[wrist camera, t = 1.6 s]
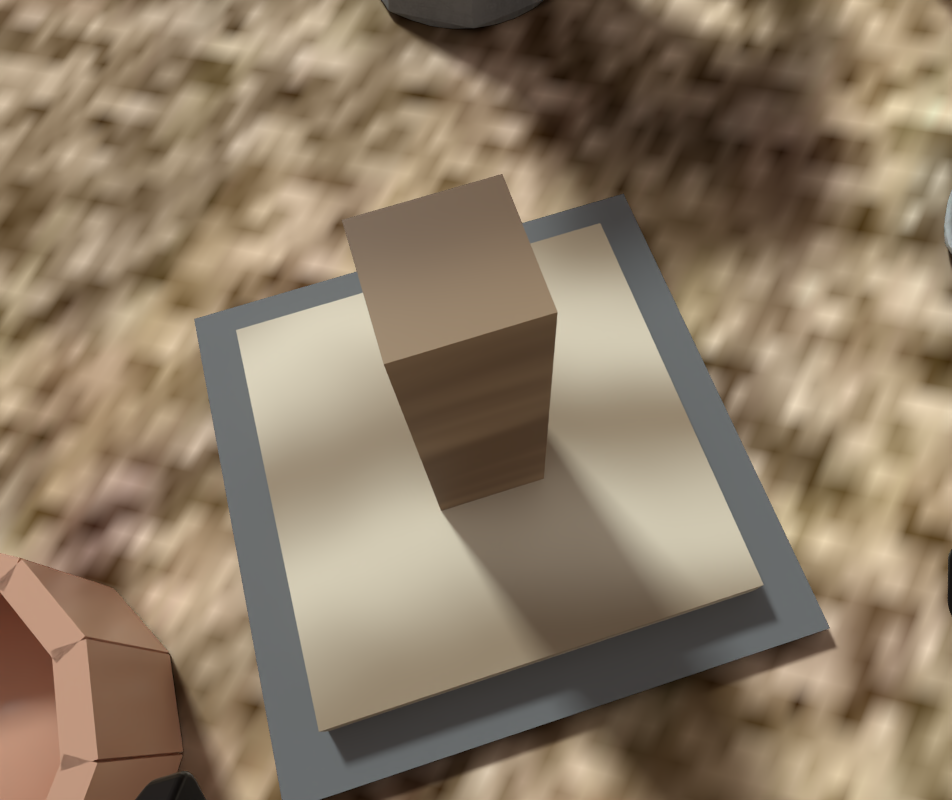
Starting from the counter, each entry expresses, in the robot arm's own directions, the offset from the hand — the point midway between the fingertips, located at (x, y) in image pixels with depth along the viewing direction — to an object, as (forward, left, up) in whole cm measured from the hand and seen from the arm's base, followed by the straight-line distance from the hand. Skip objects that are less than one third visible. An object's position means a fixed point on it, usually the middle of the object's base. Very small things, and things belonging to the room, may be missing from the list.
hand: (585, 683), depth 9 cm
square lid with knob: (+7, 0, -12) cm, 14 cm away
